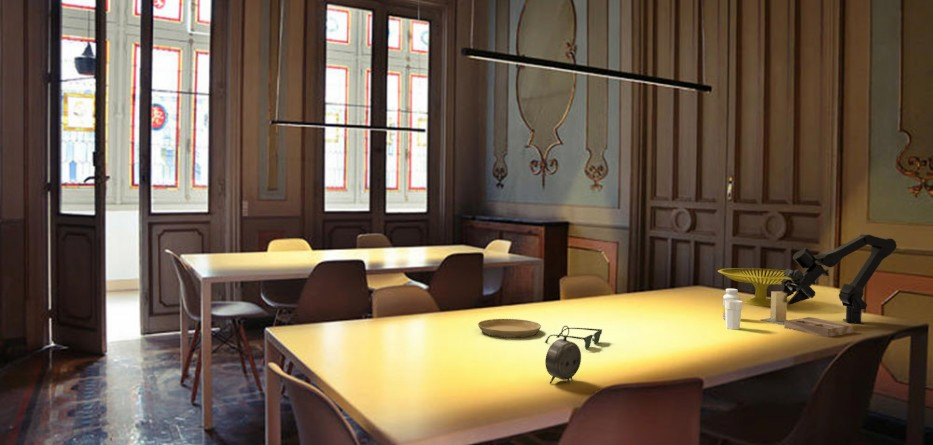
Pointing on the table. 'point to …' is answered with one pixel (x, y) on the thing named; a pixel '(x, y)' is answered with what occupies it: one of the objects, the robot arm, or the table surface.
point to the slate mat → (772, 321)
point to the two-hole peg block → (819, 326)
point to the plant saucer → (509, 327)
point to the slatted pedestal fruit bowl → (756, 282)
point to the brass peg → (778, 306)
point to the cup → (733, 313)
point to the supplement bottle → (729, 297)
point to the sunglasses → (586, 339)
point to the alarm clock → (563, 359)
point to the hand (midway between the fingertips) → (783, 302)
